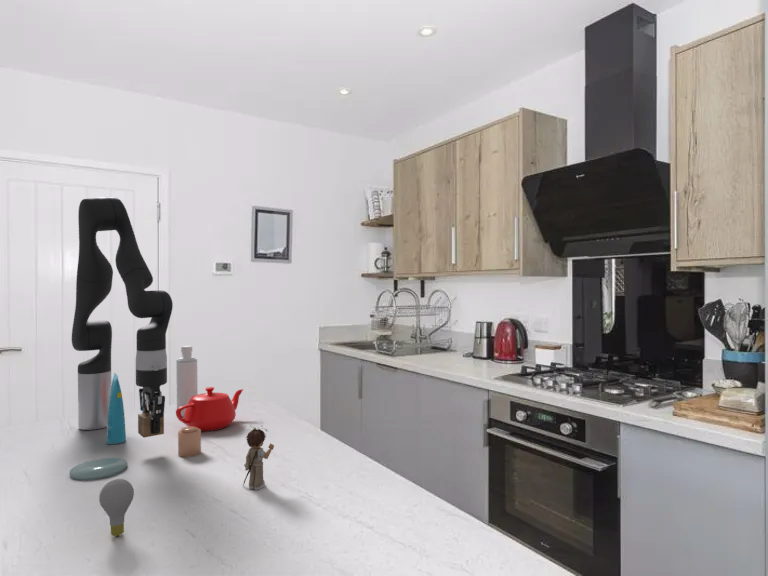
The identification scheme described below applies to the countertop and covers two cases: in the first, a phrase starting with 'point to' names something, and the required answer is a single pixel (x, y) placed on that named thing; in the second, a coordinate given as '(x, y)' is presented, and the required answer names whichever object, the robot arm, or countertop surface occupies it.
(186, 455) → the dome-topped cylinder
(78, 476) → the dish
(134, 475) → the countertop surface
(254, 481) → the toy
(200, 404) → the teapot
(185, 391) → the white bottle
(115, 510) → the light bulb
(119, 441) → the tube
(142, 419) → the block
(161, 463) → the countertop surface
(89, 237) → the robot arm
